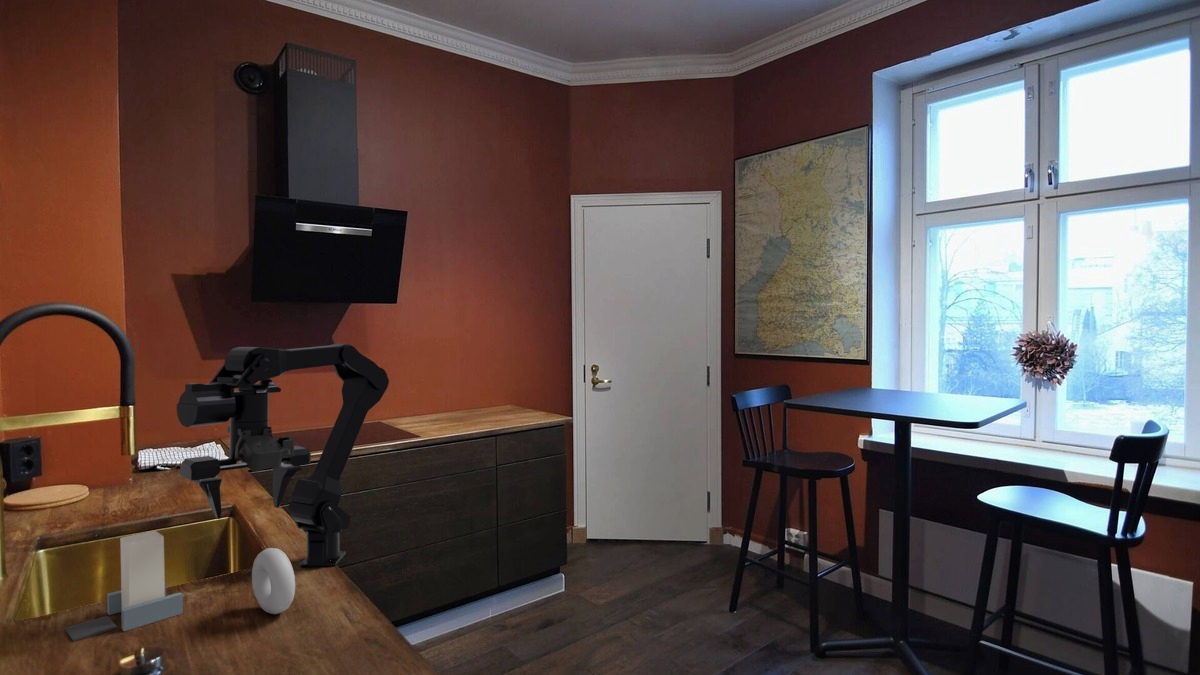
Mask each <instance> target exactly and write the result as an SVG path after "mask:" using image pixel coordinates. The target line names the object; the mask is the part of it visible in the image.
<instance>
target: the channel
mask: <svg viewBox="0 0 1200 675" xmlns="http://www.w3.org/2000/svg"><path fill="white" fill-rule="evenodd" d="M164 581H165V597H161V598H158V599H154V600H151V601H147V602H143V603H140V604H136V605H133V606H129V607H126V608H122V599H121V589H120V590H116V591H112V592H108V593H107V594H106V601H107V602H106V604H107V605H106V607H107V609H106V610H107V612H106V613H107V614H108V616H111V615H115V614H118V613H121V616H120V618H121V620H120V621H121V630H122V632H126V631H130V630H133V629H137V628H139V627H143V626H146V625H149V624H152V623H157V622H159V621H162V620H165V619H168V618H169V619H170V618H171V617H172V618H173V617H175V616H178V615H183V614H184V607H183V606H184V605H183V604H184V603H183V602H184V600H183V598H184V596H183V594H184V593H182V592H179V591H178V592H176V593H172V594H168V595H167V580H165V579H164Z"/></svg>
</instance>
